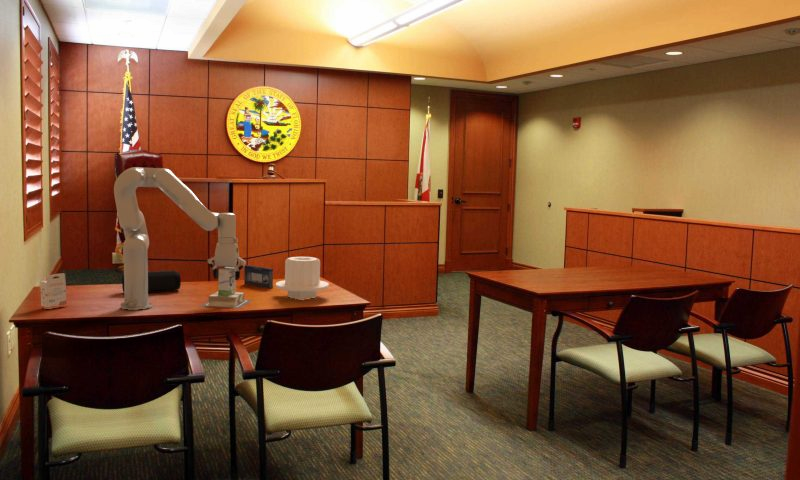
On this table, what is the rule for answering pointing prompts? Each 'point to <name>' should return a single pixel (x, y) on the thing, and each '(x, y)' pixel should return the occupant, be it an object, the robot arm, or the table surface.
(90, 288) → the table surface
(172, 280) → the portable speaker
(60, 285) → the ink cartridge box
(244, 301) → the blueprint mat
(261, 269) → the vhs cassette tape
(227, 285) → the ink box
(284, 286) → the ribbed cylinder on disc
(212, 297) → the base block
